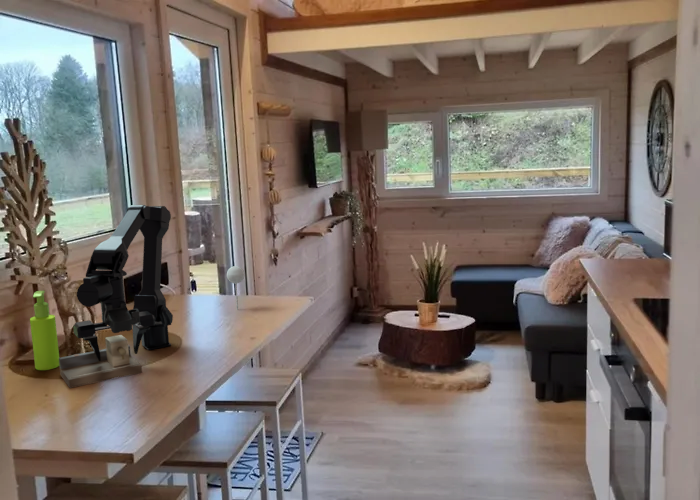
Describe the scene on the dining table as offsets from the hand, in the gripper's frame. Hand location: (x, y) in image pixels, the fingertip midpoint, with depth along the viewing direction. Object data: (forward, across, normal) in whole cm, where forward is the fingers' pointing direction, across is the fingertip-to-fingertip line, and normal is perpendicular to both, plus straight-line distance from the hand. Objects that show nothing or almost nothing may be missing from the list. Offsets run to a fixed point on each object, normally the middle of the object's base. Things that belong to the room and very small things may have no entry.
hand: (117, 357), depth 169 cm
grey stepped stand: (+3, -4, -1) cm, 6 cm away
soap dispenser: (+3, -15, +14) cm, 20 cm away
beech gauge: (+1, 0, -2) cm, 2 cm away
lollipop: (+3, +49, +37) cm, 61 cm away
